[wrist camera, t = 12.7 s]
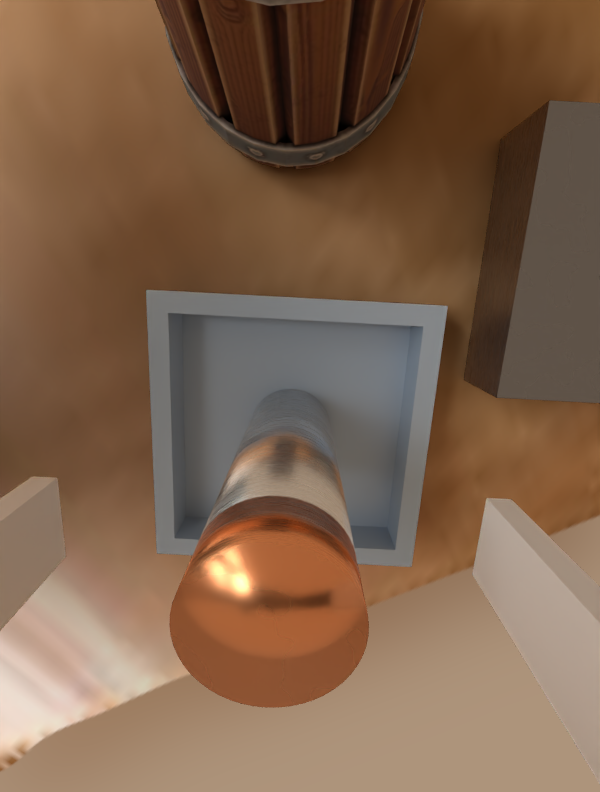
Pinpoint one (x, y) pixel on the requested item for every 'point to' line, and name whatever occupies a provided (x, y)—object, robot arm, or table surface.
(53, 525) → the robot arm
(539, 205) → the hitch block
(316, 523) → the pin
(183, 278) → the table surface
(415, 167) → the table surface
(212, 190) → the table surface
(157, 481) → the tray
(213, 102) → the mug
